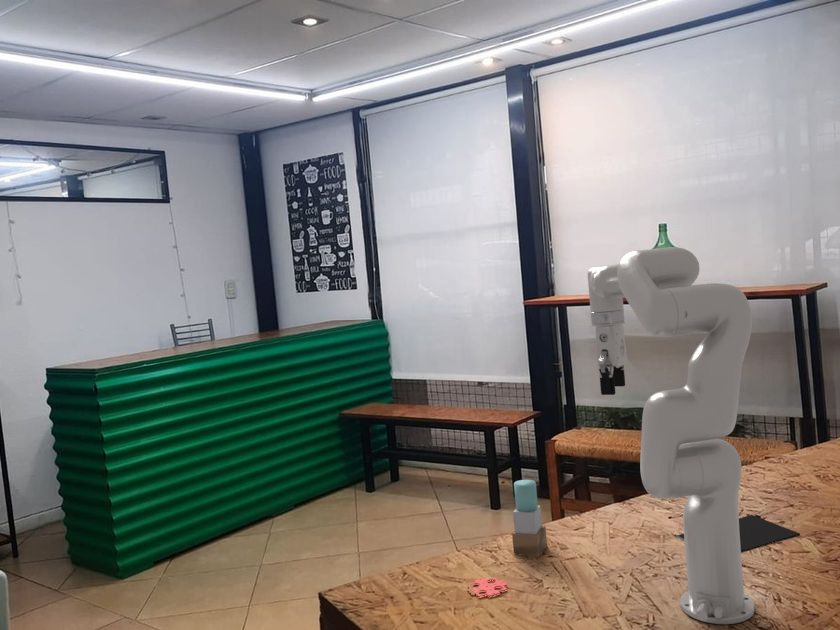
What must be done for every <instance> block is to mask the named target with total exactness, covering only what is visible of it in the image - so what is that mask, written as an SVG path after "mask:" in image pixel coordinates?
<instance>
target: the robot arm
mask: <svg viewBox="0 0 840 630" xmlns="http://www.w3.org/2000/svg"><path fill="white" fill-rule="evenodd" d="M699 262H700V261H699V260H698V258H697V257H696V256H695V255H694V253H693V252H691V251H690V250H688V249H686V248H684V247H678V246H675V247H674V246H669V247H660V248H658V247H657V248H652V249H641V250H639V249H638V250H633V251H630V252H628V253H626V254H625V255H623V256H622V258H620V260H619V263H617V264H611V265H610V264H607V265H598V266H593V267H591V268H589V269H588V270H587V281H588V282H587V283H588V294H589V295H588V297H589V306H590V307H589V309H590V319H591V321H590V322H591V326H592V327H595V350H596V351H595V353H596V362H597V366H598V371H599V375H598V376H599V383H600V384H599V385H600V394H601V396H604V395H605V396H613V395H615V394H616V387H625V386H626V376H625V375H626V374H625V369H624V368H625V365H624V364H626V363H627V361H628V355H627V353H628V352H627V346H626V345H627V344H626V340H625V339H626V337H625V331H624V327H623V325H624V324H625V323H626V322H625V321H626V320H625V311H624V310H625V309H624V300H623V299H624V298H625V299H626V301H627V303H628V304H629V305H630V306H629V307H631V309H632V310H633V312H634V314H635V316H636V317H637V319H638V321H639V322H640V324H641V325H642V327H643V329H645V331H646V332H647V333H648V334H650V335H651V336H653V337H657V338H671V337H672V338H673V337H679V336H686V335H694V334H695V335H696V334H702V333H706V336H705V338H704V339H703V340H701V342H700V343H699V344H698V346H697V347H696V348H695V350H694V352H693V353H692V355H691V357H690V359H689V362H688V366H687V367H688V368H687V380H686V384H685V385H684V386H683V387H680V388H675V389H666V390H661V391H658V392H655V393H652V395H650V397H649V398H648V399H647V400H646V401H645V404H644V406H643V410H642V418H641V435H640V436H641V438H640V441H641V442H640V457H639V458H640V462H639V464H640V465H639V466H640V477H641V482H642V485H643V487H644V489H645V491H646V492H647V494H649V495H650V496H651V497H653V498H656V499H658V500H669V499H670V500H671V499H677V498H684V497H687V499H686V502H685V504H684V507H683V513H682V523H683V525H682V526H683V527H682V528H683V534H684V540H685V541H684V540H683V541H684V549H685V550H684V551H685V552H684V553H685V563H686V564H685V565H686V580H687V591H685V592H684V593H683V594H682V595H681V596H680V600H679V601H680V607H681V610H683V612H684V613H686V614H687V615H688V616H689V617H691V618H693V619H696V620H698V621H701V622H704V623H709V624H715V625H716V624H717V625H734V624H740V623H743V622H745V621H747V620H749V619H750V618H752V617H753V615H754V614H755V604H754V602H753V600H752V599H751V598H750V597H749V596H748V595H746V594H744V593H745V591H744V577H743V563H742V552H741V547H740V533H739V518H740V517H739V494H740V493H739V492H740V484H741V479H742V460H741V457H740V456H741V455H740V454H739V452H738V450H737V449H736V447H735V446H734V445H733V444H732V443H730V442H728V441H726V440H724V439H721V438H723V437H726V436H728V435H730V434H731V433H732V432H734V430H735V427H736V423H737V419H738V417H737V416H738V411H739V401H740V399H739V398H740V387H741V377H742V376H741V375H742V368H743V363H744V361H745V360H744V359H745V357H746V353H747V349H748V347H749V343H750V340H751V335H752V330H753V315H752V310H751V306H750V303H749V300H748V299H747V296H746V294H745V293H744V292H743V291H742V290H741V289H740V288H738V287H736V286H735V285H731V284H727V283H716V282H715V283H712V282H711V283H700V284H694V283H695V281H696V280H697V279H698V277H699V275H700V263H699Z"/></svg>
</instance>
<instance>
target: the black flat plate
mask: <svg viewBox="0 0 840 630" xmlns="http://www.w3.org/2000/svg"><path fill="white" fill-rule="evenodd" d="M739 533H740V547H741V553H743V551H744V552H747V551H749V550H754V549H757V548H760V546H761V547H764V546H768V545H771V544H773V543H772V542H774V543H776V542H775V541H778V542H780V541H779V540H781V541H783V540H782V539H784V540H787V538H788V539H791V538H794V537H797V536H800V535H801V533H800V532H797V531H795V530H792V529H789V528H787V527H784V526H782V525H779V524H777V523H775V522H772V521H769V520H767V519H764V518H762V517H761V515H759V514H755V515H754V514H746V516H743V517H739ZM674 537H675V538H677V539H679V538H680V540H681V539H682V540H681V541H684V542H685V540H684V533H681V534H675V533H674ZM770 543H771V544H770ZM763 545H764V546H763ZM753 548H754V549H753Z"/></svg>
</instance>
